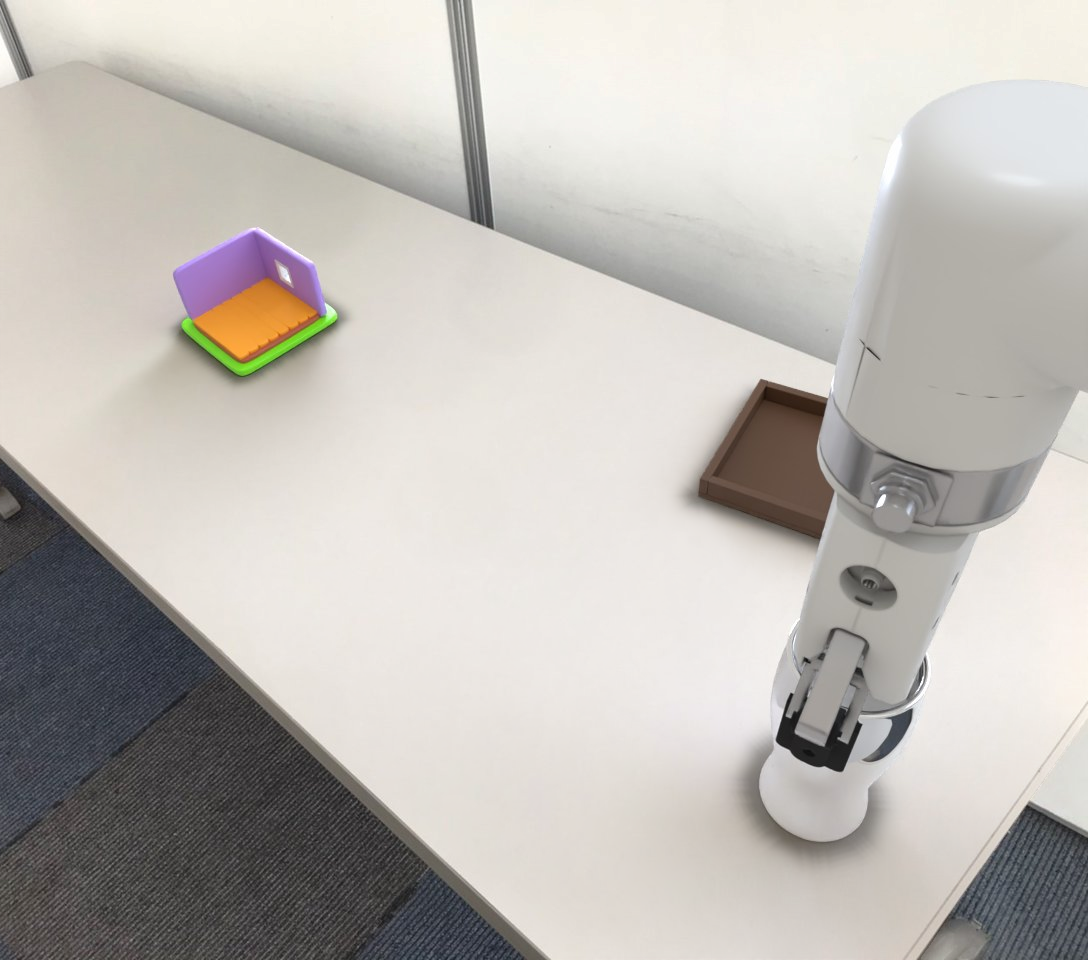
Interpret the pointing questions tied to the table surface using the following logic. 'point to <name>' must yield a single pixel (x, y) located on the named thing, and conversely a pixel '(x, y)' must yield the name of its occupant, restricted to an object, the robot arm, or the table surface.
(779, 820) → the beer glass
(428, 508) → the table surface
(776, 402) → the tray
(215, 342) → the dollhouse room
